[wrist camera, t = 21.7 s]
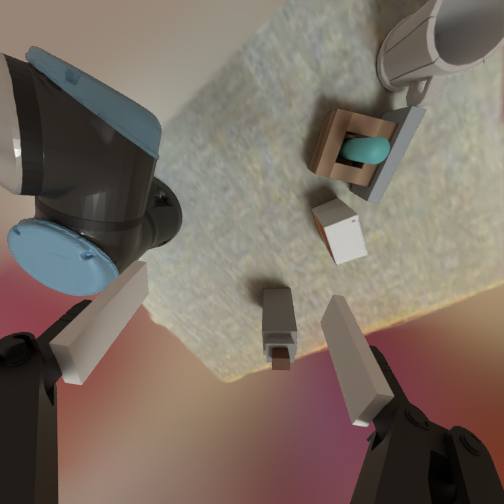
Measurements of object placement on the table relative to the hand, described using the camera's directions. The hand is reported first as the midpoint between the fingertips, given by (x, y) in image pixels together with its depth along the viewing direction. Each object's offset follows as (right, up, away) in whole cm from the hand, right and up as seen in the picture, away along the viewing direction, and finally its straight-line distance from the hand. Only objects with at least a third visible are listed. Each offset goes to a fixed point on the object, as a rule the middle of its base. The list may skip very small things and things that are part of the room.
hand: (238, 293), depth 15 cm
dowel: (+17, +21, +21) cm, 34 cm away
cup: (+25, +32, +17) cm, 44 cm away
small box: (+17, +10, +29) cm, 35 cm away
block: (+17, +21, +23) cm, 36 cm away
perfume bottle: (+7, -9, +40) cm, 42 cm away
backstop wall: (+22, +20, +23) cm, 38 cm away
